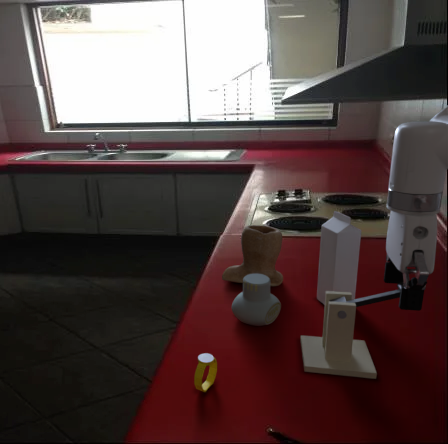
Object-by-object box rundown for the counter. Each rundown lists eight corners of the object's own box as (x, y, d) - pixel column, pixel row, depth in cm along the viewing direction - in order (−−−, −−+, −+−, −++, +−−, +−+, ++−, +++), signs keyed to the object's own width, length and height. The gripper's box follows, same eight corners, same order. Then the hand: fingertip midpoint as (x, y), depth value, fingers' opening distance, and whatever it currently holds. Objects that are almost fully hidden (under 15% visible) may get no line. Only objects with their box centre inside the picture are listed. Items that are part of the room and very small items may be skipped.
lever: (407, 290, 74) (403, 278, 74) (416, 304, 70) (412, 291, 69) (331, 307, 79) (328, 296, 78) (335, 321, 74) (331, 309, 74)
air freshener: (260, 336, 87) (260, 293, 84) (226, 323, 93) (226, 282, 90) (284, 314, 95) (286, 274, 92) (252, 303, 100) (253, 265, 97)
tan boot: (285, 273, 115) (287, 222, 110) (280, 293, 105) (282, 237, 100) (231, 268, 121) (230, 218, 116) (221, 286, 110) (220, 232, 106)
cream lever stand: (364, 345, 82) (370, 287, 78) (376, 378, 73) (384, 314, 69) (300, 340, 85) (303, 283, 81) (304, 371, 76) (307, 309, 72)
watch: (205, 399, 71) (204, 370, 69) (190, 394, 72) (189, 365, 70) (221, 379, 75) (220, 351, 73) (207, 374, 77) (206, 346, 75)
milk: (338, 295, 102) (345, 208, 95) (354, 307, 96) (363, 215, 90) (315, 299, 101) (322, 211, 94) (331, 311, 95) (338, 219, 89)
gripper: (463, 216, 58) (444, 323, 64) (421, 187, 74) (409, 275, 80) (403, 215, 60) (390, 319, 66) (375, 187, 76) (366, 273, 81)
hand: (400, 295), depth 73 cm, fingers open, 9 cm apart
